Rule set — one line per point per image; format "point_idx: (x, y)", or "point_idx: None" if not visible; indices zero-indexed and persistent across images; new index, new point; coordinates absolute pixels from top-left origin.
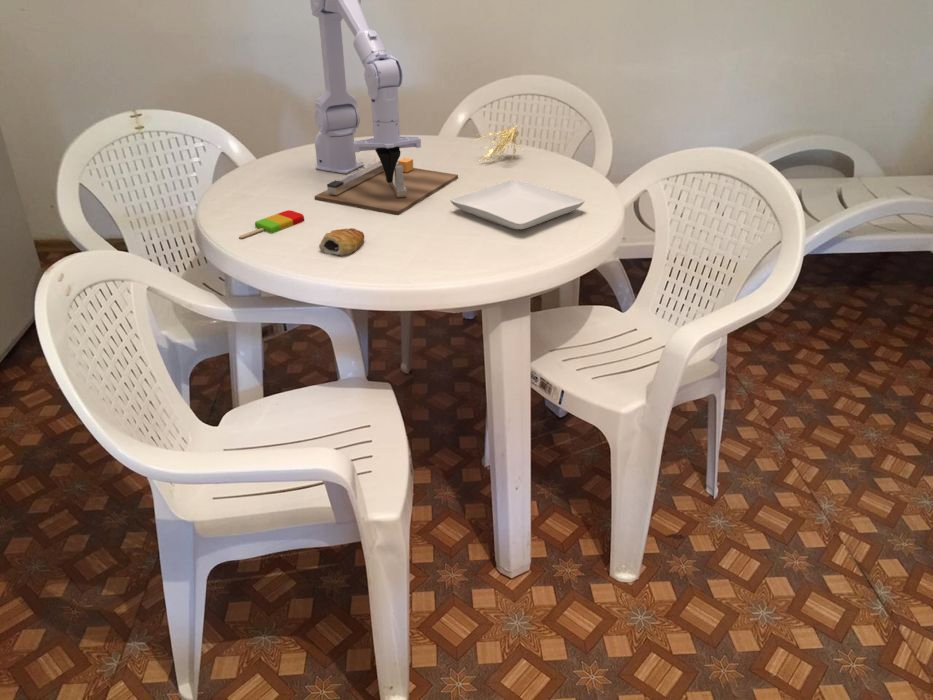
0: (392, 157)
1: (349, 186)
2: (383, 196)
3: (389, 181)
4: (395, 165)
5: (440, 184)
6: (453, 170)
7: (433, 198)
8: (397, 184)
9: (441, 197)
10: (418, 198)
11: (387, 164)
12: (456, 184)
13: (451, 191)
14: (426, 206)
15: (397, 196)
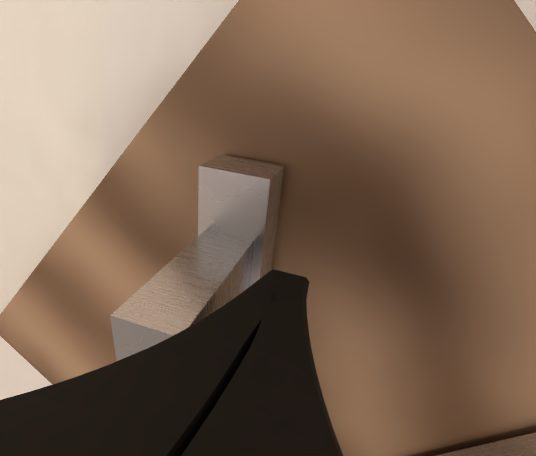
0: (99, 452)
1: (508, 451)
2: (357, 241)
3: (292, 276)
4: (161, 342)
5: (47, 266)
6: (22, 384)
7: (94, 136)
8: (240, 248)
9: (57, 134)
10: (161, 113)
11: (256, 391)
12: (5, 264)
13: (18, 196)
14: (140, 5)
15: (280, 167)
